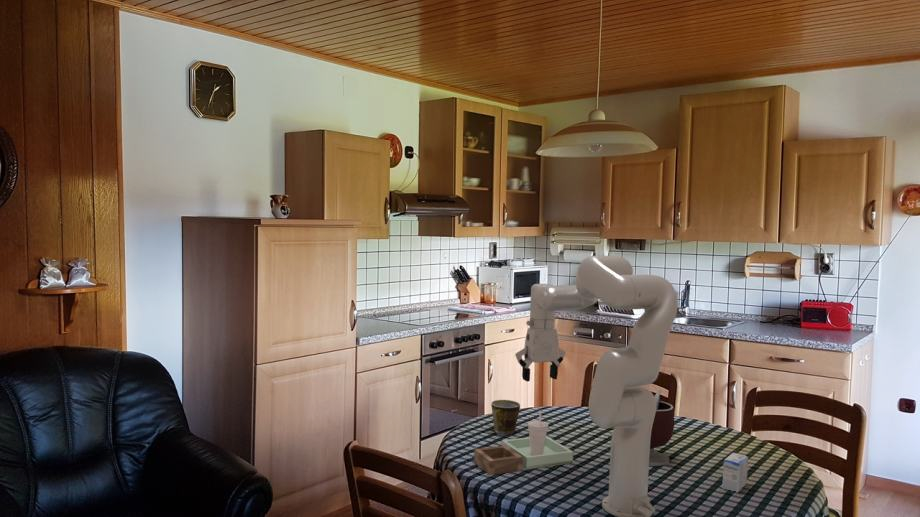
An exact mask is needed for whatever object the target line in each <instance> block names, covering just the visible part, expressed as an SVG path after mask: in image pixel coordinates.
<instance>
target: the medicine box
mask: <svg viewBox="0 0 920 517" xmlns="http://www.w3.org/2000/svg"><path fill="white" fill-rule="evenodd" d="M748 468H749V456H747V455H744V454H740V453H736V452H732V453H731V454H729V456H727V457H726V458H725V459H723V469H722V485H721V488H723V489H727V490H731V491H736V492H739V491H740V490H741V489H742V487H743V486H744V485H745V484H746V485H747V480H748ZM723 489H722V490H723ZM742 490H743V489H742ZM742 490H741V491H742ZM741 491H740V492H741ZM740 492H739V493H740Z"/></svg>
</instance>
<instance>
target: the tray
mask: <svg viewBox="0 0 920 517" xmlns="http://www.w3.org/2000/svg"><path fill="white" fill-rule="evenodd" d="M505 445H506V446H507V447H509V448H510V449H512V450H513V451H515V452H516V453H517V454H519V455H520V456H522V457H523V463H522V468H524V469H525V470H532V469H541V468H548V467H555V466H560V465H561V466H562V465H569V464H573V463H574V451H573V450H572V449H569V448H568V447H566V446H564V445H563V444H561V443H559V442H557V441H556V440H554V439H552V438H551V437H549V436H547V435H546V439H545V445H544V451H543V454H542V455H534V456H532V455H531V450H530V438H529V436H527V437H521V438H520V437H519V438H512V439H503V440H501V446H505Z"/></svg>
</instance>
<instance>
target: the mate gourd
mask: <svg viewBox="0 0 920 517" xmlns="http://www.w3.org/2000/svg"><path fill="white" fill-rule="evenodd" d="M661 392H662V391H661V389H660V390H658V391H656V393H655V395H653V396H654V398H655V401H656V413H655V417H654V421H653V425H652V430H651V438H650V453H649V467H651V466H653V467H660V466H662V465H663V466H666V465H668V464H670V462H669V461H670V457H669V456H668V455H666V454H664V453H661V452H660V451H655V449H657V448H660V447H661V448H662V447H664V446H666V445H667V444H668V443H669V442H670V441H671V439H672V437H673V433H674V429H675V413H674V406H673V405H672V404H671V403H668V402H665V401H662V400H661V399H660V396H661Z"/></svg>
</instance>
